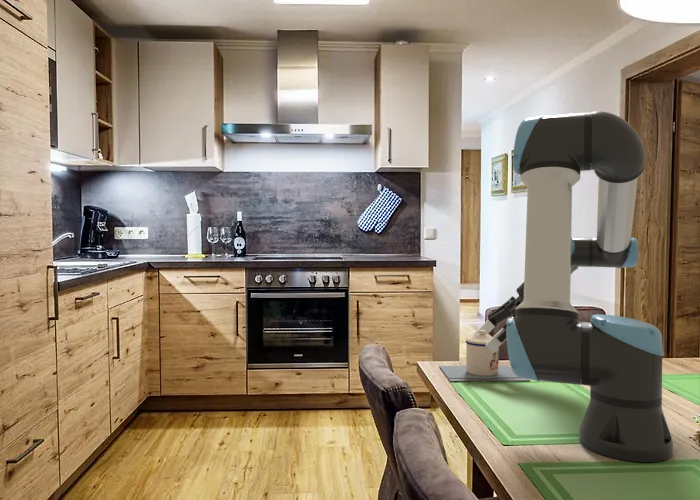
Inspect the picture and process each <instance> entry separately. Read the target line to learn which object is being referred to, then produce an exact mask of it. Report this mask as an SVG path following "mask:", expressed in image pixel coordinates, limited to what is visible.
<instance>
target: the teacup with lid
mask: <svg viewBox="0 0 700 500" xmlns="http://www.w3.org/2000/svg"><path fill="white" fill-rule="evenodd" d="M493 337H494V336H492V335H490V334H489V333H488V334H486V331H485V330H479V334H475V335H474V336H472V335H471V336H469V337H467V338H466V339H465V344H466V346H465V347H466V349H465V350H466V352H465V354H466V357H465V359H466V361H465V362H466V365H465V366H466V371H467V372H468V373H470V374H472V375H477V376H493V375H496V374H498V366H499V359H500V358H499V352H500V351H499V350H500V349H499V347H500V346H499V347H498V348H497V349H496V350H495V351H494V352H492V351H491V350H490V349H489V348H488V347H487V346H486V344H487V343H488V342H489V341H490V340H491V339H492V338H493Z"/></svg>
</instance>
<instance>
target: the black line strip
mask: <svg viewBox="0 0 700 500" xmlns="http://www.w3.org/2000/svg"><path fill="white" fill-rule="evenodd" d="M448 381H449V382H450V383H456V382H455V381H458V382H457V383H464V382H463V381H467V382H466V383H473V382H474V381H475V382H476V381H517V382H531V379H524V378H492V379H448ZM459 381H460V382H459ZM468 381H470V382H468ZM475 382H474V383H475ZM476 383H477V382H476Z"/></svg>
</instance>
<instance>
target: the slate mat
mask: <svg viewBox="0 0 700 500" xmlns="http://www.w3.org/2000/svg"><path fill="white" fill-rule="evenodd" d="M438 367H439V369H440V368H441V369H440V370H441V372H442V373H443V374H444V375H445V377H446V378H447V379H448V380H449V379H492V378H520V377H517V376H516V375H515V374H514V373H513V371H512V369H511V366H510V365H498V374H496V375H493V376H477V375H472V374H470V373H468V372H467V371H466V365H439V366H438Z"/></svg>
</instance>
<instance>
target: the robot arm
mask: <svg viewBox="0 0 700 500" xmlns="http://www.w3.org/2000/svg"><path fill="white" fill-rule="evenodd" d="M645 149H646V148H645V146H644V143H643V139H641V136H640V135H639V134H638V132H637V131H636V129H635V128H634V127H633V126H632V125H631V124H630V123H629V122H627V121H626V120H625V119H624V118H622V117H621V116H618V115H617V114H614V113H612V112H607V111H598V110H597V111H590V112H579V113H578V112H577V113H567V114H557V115H556V114H554V115H546V114H544V115H540V116H535V117H528V118H525V119H524V120H522V121H521V122H520V124H519V126H518V128H517V130H516V134H515V140H514V145H513V160H512V165H513V166H512V167H513V171H514V173H515V174H518V176H519V175H520V177H519V178H520V182H521V183H522V184H523V185H524V186H526V188H527V195H526V197H527V198H526V222H525V223H526V224H525V250H524V251H525V253H524V254H525V255H524V277H523V278H524V281H523V282H522V283H521V284H520V285H519V286H518V287H517V288H516V293H517V295H518V296H517V297H514V296H510V298H509V299H508V300H507V301H506V302H504V303H503V304H502V305H500V306H498V308H496V309H495V310H494V311H492V312H491V313H490V314H488V315H487V320H486V321H485V322H484V323H483V324H482V325H480V327H479V328H478V329H477V330H476V331H475V332H474V333H473V334H472V335H471V337H472V336H474V335H475V334H479V330H485V331H486V334H488V335H489V334H490V332H492V330H493V329H495V328H497V326H498V324H499V323H501V322H502V321H504V320H506V324H504V325H502V327H501V329H500V330H499V331H497V333H495V334H494V335H493V336H492V337H493V338H492V339H491V340H490V341H489V342H488V343H487V344H486V346H487V347H488V348H489V349H490V350H491V351H492V352H494V351H495V350H496V349H497V348H498V347H500V346H501V345H503V343H504V342H505V341H506V347H507V354H508V359H509V360H508V361H509V364H510V365H509V366H510V368H511V369H512V371H513V373H514V374H515V375H516V376H517V377H520V378H524V379H529V380H530V381H531V380H533V381H535V382H550V383H560V384H569V385H582V386H589V387H590V396H589V402H588V405H587V407H586V409H585V410H586V411H585V412H584V415H583V417H582V420H581V424H580V427H579V441H580V443H581V444H582V445H583V446H584V447H585V448H587V449H589V450H590V451H593V452H594V453H596V454H599V455H602V456H606V457H609V458H612V459H616V460H622V461H627V462H628V461H629V462H635V463H636V462H639V463H656V462H657V463H658V462H663V461H666V460H669V459H670V458H671V457H672V456H673V454H674V453H673V452H674V449H673V448H674V445H673V444H674V442H673V438H672V434H671V432H670V429H669V426H668V423H667V420H666V418H665V417H666V416H665V414H664V411H663V356H665V352H664V350H663V348H664V346H663V334H662V332H661V331H660V329H659V328H658V327H656V326H655V325H653V324H651V323H648V322H646V321H642V320H639V319H635V318H630V317H625V316H619V315H614V314H613V315H611V314H600V313H599V314H597V313H596V314H593V315H591V318H590V319H589V322H587V321H579V311H578V310H577V309H576V308H575V306H573V305H572V303H571V280H572V279H571V277H572V276H571V275H572V274H573V273H574V272H575V271H576V270H578V269H579V267H581V268H582V267H585V268H588V267H589V268H591V267H592V268H616V269H621V268H634V267H636V266H637V265H638V262H639V261H638V260H639V242H638V241H639V240H638V239H637V238H636V237H632V231H633V222H634V215H635V214H634V213H635V205H636V197H637V189H638V182H639V181H638V180H639V178H640V177H641V176H642V175H643V173H644V172H645V168H646V156H647V155H646V154H647V153H646V150H645ZM586 171H594V174H595V175H596V177H597V178H598V190H597V191H598V192H597V193H598V194H597V216H596V217H597V218H596V237H572V219H573V218H572V212H573V211H572V208H573V206H572V205H573V186H574V185H577V183H578V182H579V181H580V179H581V172H586Z"/></svg>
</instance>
